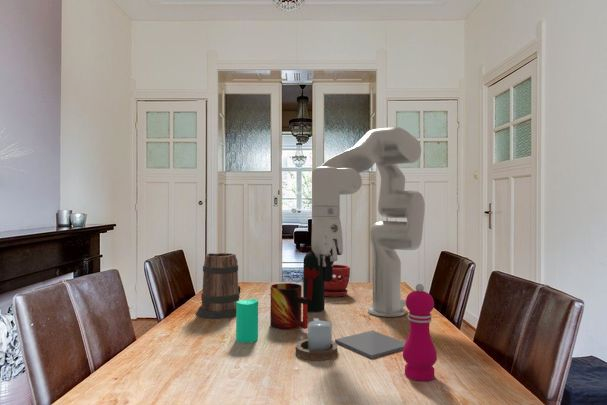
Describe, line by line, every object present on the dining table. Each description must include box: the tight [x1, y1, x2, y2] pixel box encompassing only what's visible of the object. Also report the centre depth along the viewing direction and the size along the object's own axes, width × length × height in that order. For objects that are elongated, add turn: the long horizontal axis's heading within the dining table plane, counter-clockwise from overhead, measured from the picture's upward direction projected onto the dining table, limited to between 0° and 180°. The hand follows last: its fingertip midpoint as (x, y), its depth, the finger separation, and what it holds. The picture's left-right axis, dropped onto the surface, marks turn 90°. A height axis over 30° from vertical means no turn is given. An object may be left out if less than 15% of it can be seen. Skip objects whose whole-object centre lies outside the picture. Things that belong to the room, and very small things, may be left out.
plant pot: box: [324, 264, 351, 298], centre depth 168 cm, size 13×13×12 cm
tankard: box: [194, 252, 241, 320], centre depth 143 cm, size 24×17×20 cm
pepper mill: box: [402, 283, 438, 382], centre depth 89 cm, size 7×7×20 cm
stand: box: [295, 338, 338, 362], centre depth 102 cm, size 10×10×2 cm
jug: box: [307, 317, 333, 351], centre depth 105 cm, size 10×6×7 cm, turn 6°
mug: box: [269, 282, 308, 331], centre depth 125 cm, size 10×14×12 cm
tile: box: [334, 330, 406, 360], centre depth 108 cm, size 14×14×1 cm
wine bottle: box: [302, 224, 326, 313], centre depth 143 cm, size 8×10×30 cm
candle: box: [235, 295, 259, 344], centre depth 112 cm, size 6×6×12 cm
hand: (325, 280), depth 109 cm, fingers closed
